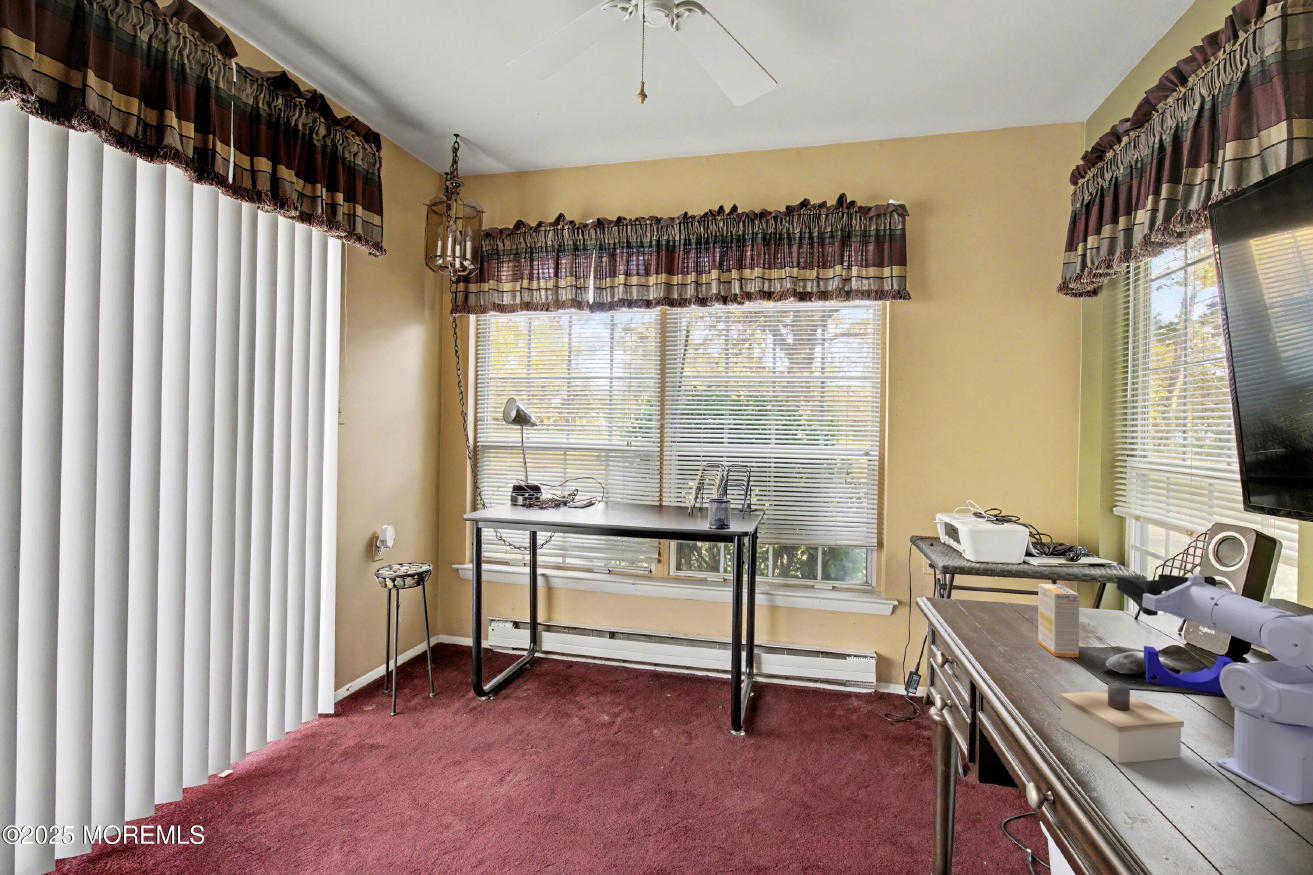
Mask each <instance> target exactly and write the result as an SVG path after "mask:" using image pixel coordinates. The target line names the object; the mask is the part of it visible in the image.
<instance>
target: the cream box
mask: <svg viewBox="0 0 1313 875" xmlns="http://www.w3.org/2000/svg"><path fill="white" fill-rule="evenodd" d="M1060 725H1061V727H1060V728H1061V729H1063V730H1065V731H1066V732H1067V733H1069V734H1071V735H1073V736H1074V737H1076V738H1077V739H1079V740H1080V741H1082V742H1083V743H1085V744H1086V745H1089V746H1090V747H1092V748H1093V749H1095V750H1097V751H1098V752H1099V753H1101V754H1103V755H1104V756H1106V757H1108V758H1109V759H1111V760H1113V761H1115V763H1117V764H1123V763H1125V764H1126V763H1135V762H1147V761H1157V760H1170V759H1180V758H1182V756H1181V752H1182V727H1177V728H1165V729H1154V730H1142V731H1130V732H1117V731H1115V730H1114V729H1112V728H1110V727H1108V726H1107V725H1105V724H1103V723H1101V722H1100V721H1098V720H1096V719H1094V718H1093V717H1091V716H1089V715H1087V714H1085V713H1084V712H1082V711H1080V710H1078V709H1077V708H1075V707H1073V706H1071V705H1070V704H1068V703H1066V702H1064V701H1063V700H1061V724H1060Z"/></svg>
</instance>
